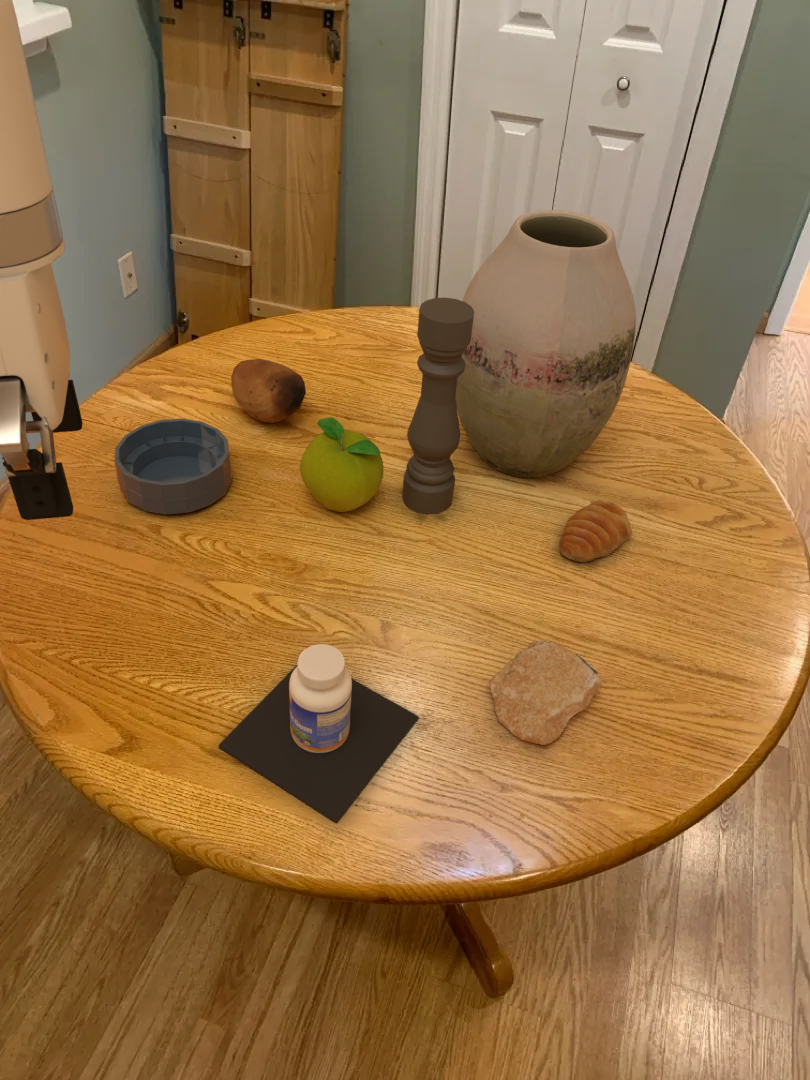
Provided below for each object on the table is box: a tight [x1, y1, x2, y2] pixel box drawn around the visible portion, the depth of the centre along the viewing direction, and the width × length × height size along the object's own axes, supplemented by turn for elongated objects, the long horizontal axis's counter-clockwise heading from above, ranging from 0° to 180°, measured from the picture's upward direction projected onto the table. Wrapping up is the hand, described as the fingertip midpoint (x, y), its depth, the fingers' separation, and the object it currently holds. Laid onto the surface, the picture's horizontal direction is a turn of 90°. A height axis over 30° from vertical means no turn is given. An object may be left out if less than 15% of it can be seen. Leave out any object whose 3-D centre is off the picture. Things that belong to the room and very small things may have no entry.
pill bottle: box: [289, 643, 353, 753], centre depth 74 cm, size 5×5×10 cm
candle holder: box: [401, 297, 474, 515], centre depth 95 cm, size 6×6×25 cm
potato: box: [230, 358, 307, 423], centre depth 112 cm, size 8×13×8 cm
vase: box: [455, 209, 637, 479], centre depth 102 cm, size 21×21×30 cm
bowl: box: [114, 418, 233, 515], centre depth 101 cm, size 13×13×5 cm
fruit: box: [299, 416, 384, 513], centre depth 99 cm, size 9×9×10 cm
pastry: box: [559, 499, 633, 563], centre depth 98 cm, size 9×7×4 cm
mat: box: [218, 664, 419, 825], centre depth 77 cm, size 13×13×1 cm
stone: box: [489, 639, 603, 746], centre depth 80 cm, size 8×10×4 cm
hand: (54, 470), depth 58 cm, fingers open, 9 cm apart
